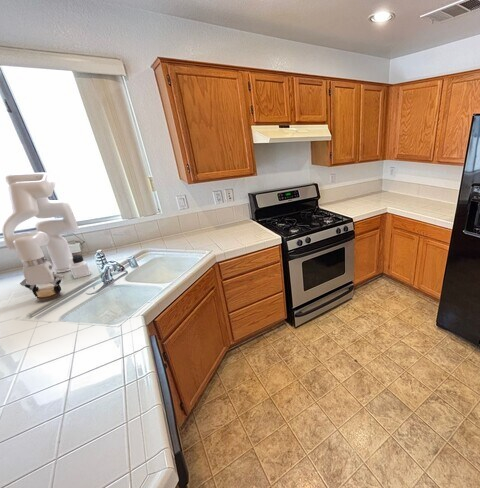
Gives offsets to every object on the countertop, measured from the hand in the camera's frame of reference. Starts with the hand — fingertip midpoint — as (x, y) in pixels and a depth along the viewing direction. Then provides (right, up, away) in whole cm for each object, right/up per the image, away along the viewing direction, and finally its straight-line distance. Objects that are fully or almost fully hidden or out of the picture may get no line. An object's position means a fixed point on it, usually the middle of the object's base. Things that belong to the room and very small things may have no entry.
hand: (48, 293), depth 131 cm
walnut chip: (0, -2, +1) cm, 2 cm away
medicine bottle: (-5, +6, +24) cm, 25 cm away
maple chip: (0, 0, 0) cm, 0 cm away
